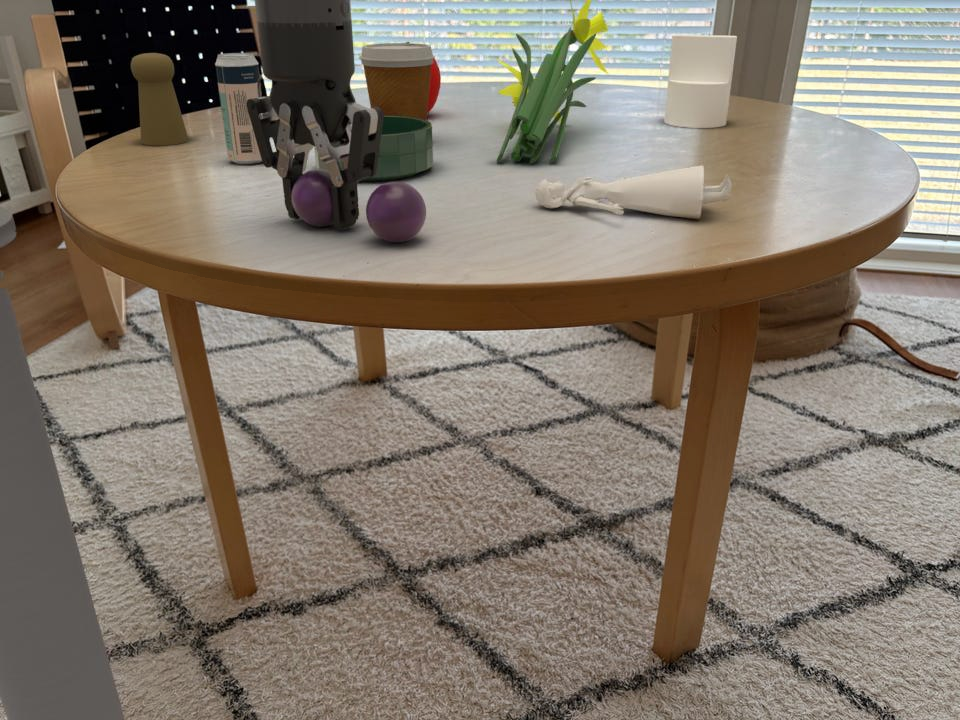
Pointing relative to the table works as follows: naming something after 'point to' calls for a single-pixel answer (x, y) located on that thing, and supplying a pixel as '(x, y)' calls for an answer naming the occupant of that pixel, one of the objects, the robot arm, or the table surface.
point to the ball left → (314, 197)
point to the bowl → (399, 148)
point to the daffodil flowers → (550, 87)
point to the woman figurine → (641, 193)
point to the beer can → (238, 104)
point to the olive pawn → (158, 100)
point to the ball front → (396, 211)
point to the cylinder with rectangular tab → (699, 80)
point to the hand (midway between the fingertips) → (322, 220)
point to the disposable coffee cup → (398, 77)
